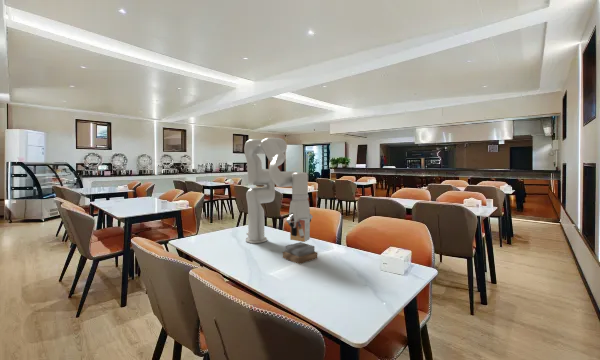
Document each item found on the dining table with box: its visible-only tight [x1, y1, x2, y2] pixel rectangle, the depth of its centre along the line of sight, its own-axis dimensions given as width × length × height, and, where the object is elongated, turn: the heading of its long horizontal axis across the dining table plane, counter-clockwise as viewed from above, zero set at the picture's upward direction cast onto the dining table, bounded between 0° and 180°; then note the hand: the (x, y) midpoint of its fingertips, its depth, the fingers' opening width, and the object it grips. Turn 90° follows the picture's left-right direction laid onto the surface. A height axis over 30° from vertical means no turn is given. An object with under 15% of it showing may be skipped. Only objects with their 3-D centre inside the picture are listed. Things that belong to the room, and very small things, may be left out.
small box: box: [289, 218, 311, 243], centre depth 142 cm, size 8×6×10 cm
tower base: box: [282, 241, 318, 265], centre depth 143 cm, size 12×12×6 cm
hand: (300, 233), depth 142 cm, fingers closed on small box, 7 cm apart
